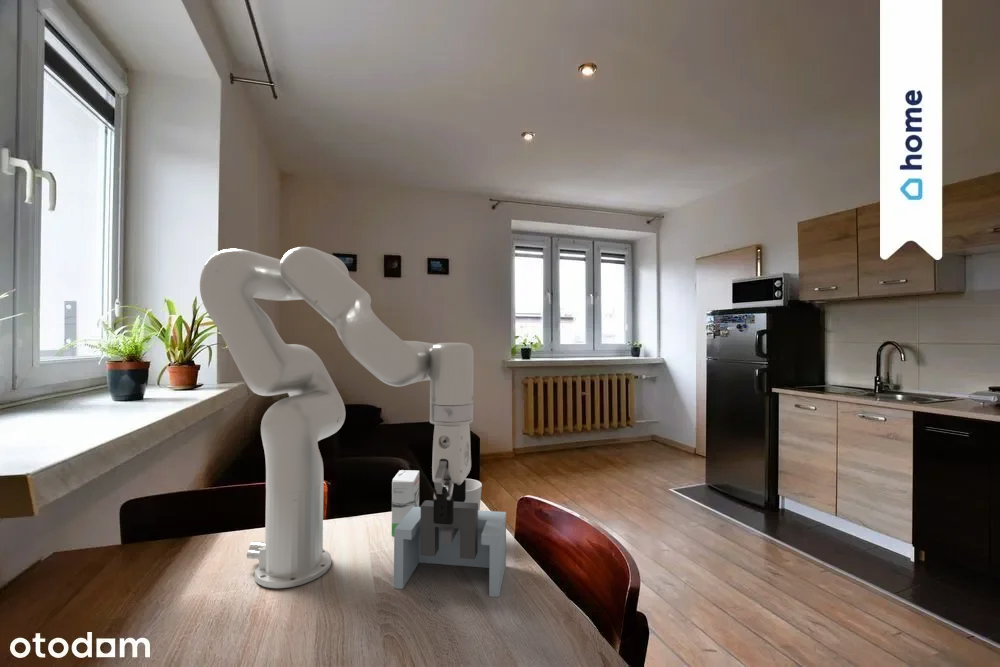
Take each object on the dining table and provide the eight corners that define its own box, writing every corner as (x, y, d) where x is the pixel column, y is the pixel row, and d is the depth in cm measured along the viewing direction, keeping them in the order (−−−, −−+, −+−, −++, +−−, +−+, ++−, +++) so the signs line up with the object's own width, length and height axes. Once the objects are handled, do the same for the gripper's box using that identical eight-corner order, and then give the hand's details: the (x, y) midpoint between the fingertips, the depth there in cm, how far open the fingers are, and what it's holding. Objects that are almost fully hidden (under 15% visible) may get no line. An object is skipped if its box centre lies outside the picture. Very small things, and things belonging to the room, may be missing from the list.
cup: (475, 553, 86) (476, 492, 86) (437, 549, 88) (438, 489, 88) (485, 535, 94) (485, 480, 94) (449, 532, 95) (450, 477, 95)
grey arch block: (477, 551, 76) (478, 503, 77) (474, 559, 74) (475, 509, 74) (424, 548, 78) (425, 500, 78) (420, 555, 75) (420, 505, 75)
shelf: (393, 588, 74) (394, 529, 74) (412, 558, 84) (413, 506, 84) (498, 597, 72) (499, 536, 72) (505, 565, 81) (506, 512, 82)
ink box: (413, 536, 93) (414, 481, 93) (390, 536, 93) (391, 481, 93) (419, 519, 102) (420, 469, 102) (398, 519, 102) (399, 469, 102)
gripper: (462, 423, 67) (461, 535, 67) (481, 406, 84) (480, 495, 84) (415, 421, 68) (413, 532, 68) (443, 405, 85) (442, 493, 85)
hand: (450, 511), depth 76 cm, fingers open, 9 cm apart
